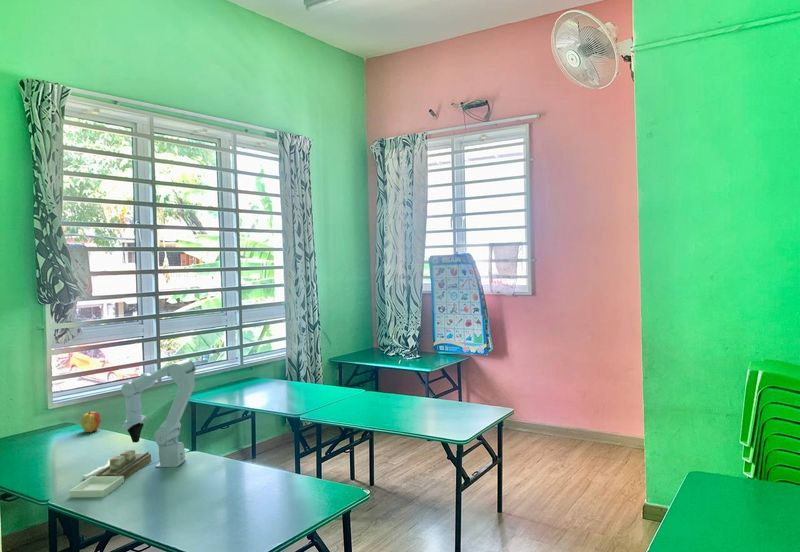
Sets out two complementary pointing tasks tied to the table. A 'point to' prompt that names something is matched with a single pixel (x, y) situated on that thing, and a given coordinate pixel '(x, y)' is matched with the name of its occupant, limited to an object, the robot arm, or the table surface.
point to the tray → (97, 486)
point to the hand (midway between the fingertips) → (135, 441)
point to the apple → (90, 421)
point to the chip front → (117, 462)
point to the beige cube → (129, 456)
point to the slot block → (127, 467)
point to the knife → (95, 471)
